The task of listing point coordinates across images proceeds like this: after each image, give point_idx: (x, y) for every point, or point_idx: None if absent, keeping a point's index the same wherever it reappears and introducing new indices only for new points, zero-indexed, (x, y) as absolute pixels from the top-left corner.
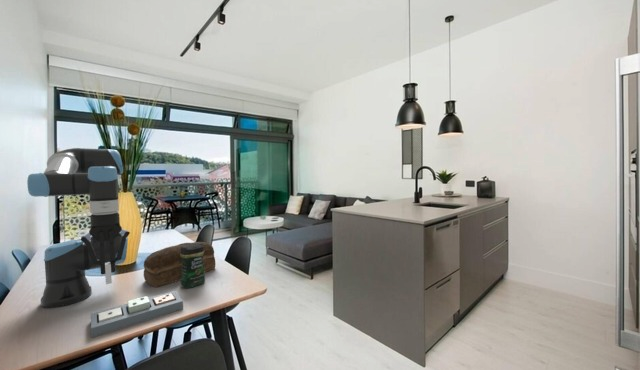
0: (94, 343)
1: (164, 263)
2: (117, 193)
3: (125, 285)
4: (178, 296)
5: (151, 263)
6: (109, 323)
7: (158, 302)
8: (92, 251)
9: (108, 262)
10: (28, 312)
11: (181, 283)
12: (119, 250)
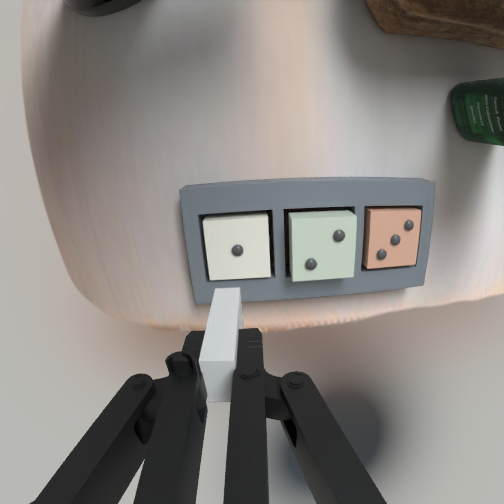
0: None
1: (456, 11)
2: None
3: None
4: (427, 244)
5: None
6: None
7: (374, 262)
8: (121, 484)
9: (222, 361)
10: (49, 24)
11: (457, 103)
12: (304, 470)
